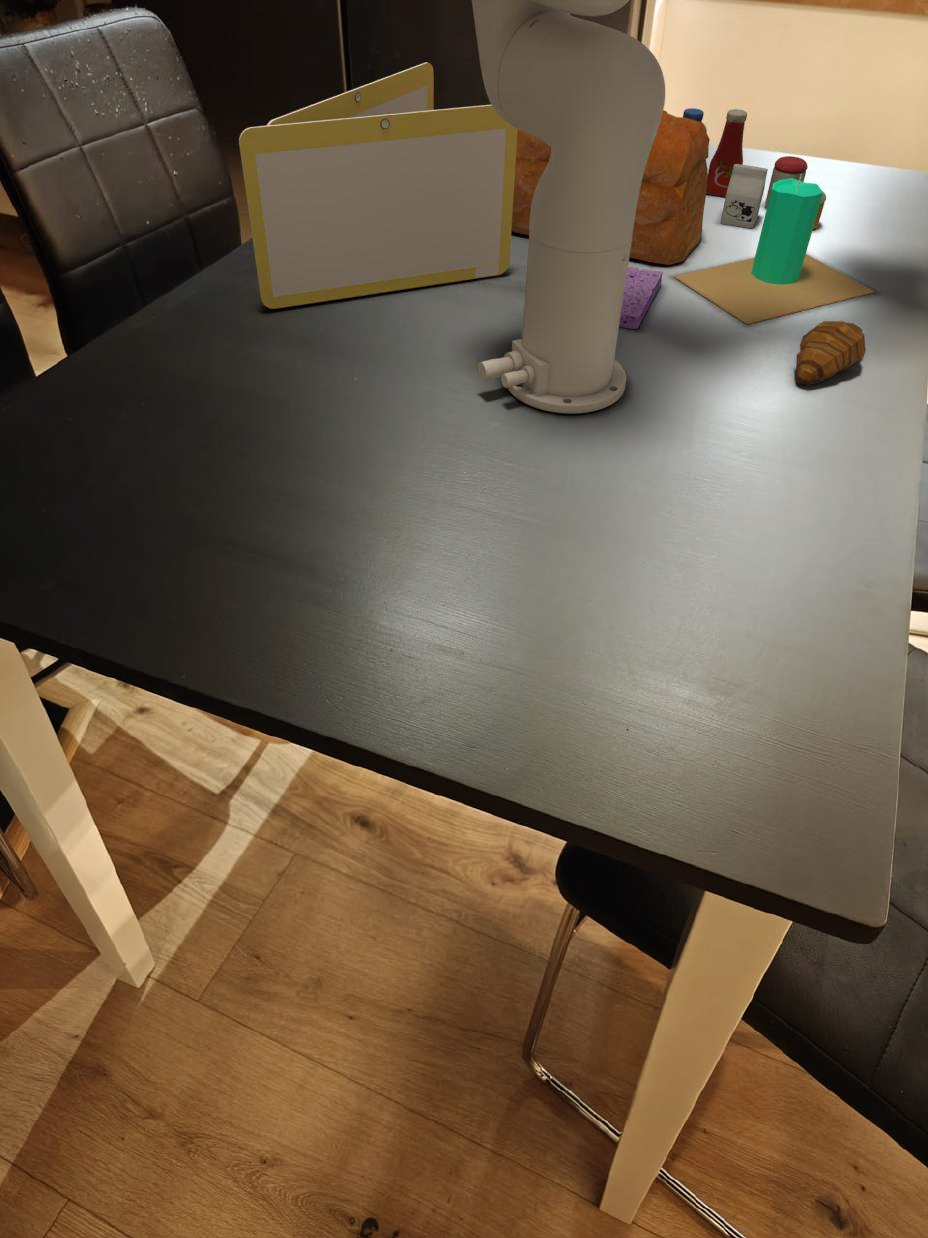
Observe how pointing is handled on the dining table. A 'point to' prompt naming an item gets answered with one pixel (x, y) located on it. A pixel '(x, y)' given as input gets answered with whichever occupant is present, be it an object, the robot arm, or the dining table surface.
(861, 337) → the croissant
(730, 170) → the toy food
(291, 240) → the tabletop whiteboard easel
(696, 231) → the bread
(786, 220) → the candle
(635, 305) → the sponge
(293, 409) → the dining table surface
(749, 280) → the place mat
